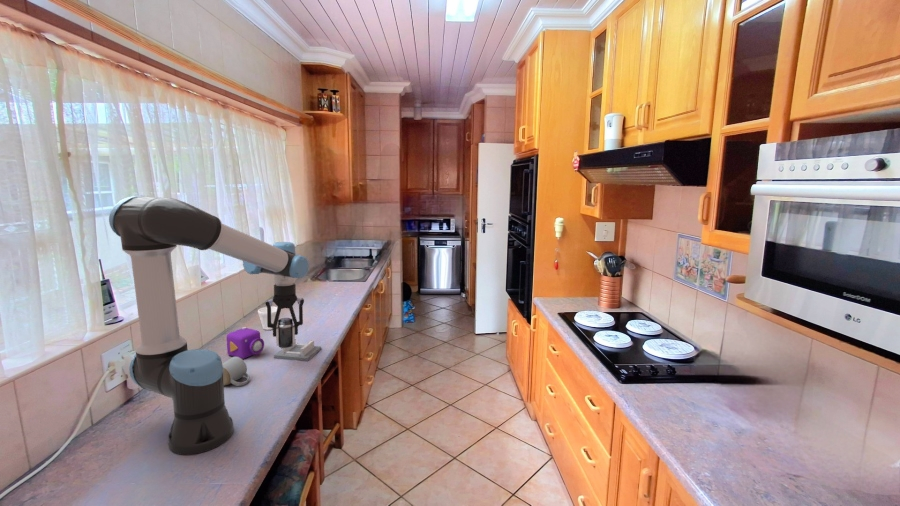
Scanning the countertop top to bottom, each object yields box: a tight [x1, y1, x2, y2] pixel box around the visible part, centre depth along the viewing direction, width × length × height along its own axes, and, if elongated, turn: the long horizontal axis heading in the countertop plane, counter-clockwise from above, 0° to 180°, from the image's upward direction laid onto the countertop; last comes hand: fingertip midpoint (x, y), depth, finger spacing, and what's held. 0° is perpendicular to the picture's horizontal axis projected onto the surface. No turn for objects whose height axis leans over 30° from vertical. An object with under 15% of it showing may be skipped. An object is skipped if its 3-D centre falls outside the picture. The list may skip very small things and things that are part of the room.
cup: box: [257, 305, 281, 331], centre depth 192 cm, size 10×10×9 cm
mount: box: [273, 338, 322, 362], centre depth 166 cm, size 12×14×4 cm
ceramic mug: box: [222, 356, 250, 387], centre depth 141 cm, size 11×8×8 cm
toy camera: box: [226, 326, 265, 360], centre depth 163 cm, size 11×14×10 cm
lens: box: [277, 317, 294, 349], centre depth 153 cm, size 5×5×10 cm
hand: (285, 343), depth 154 cm, fingers closed on lens, 5 cm apart
